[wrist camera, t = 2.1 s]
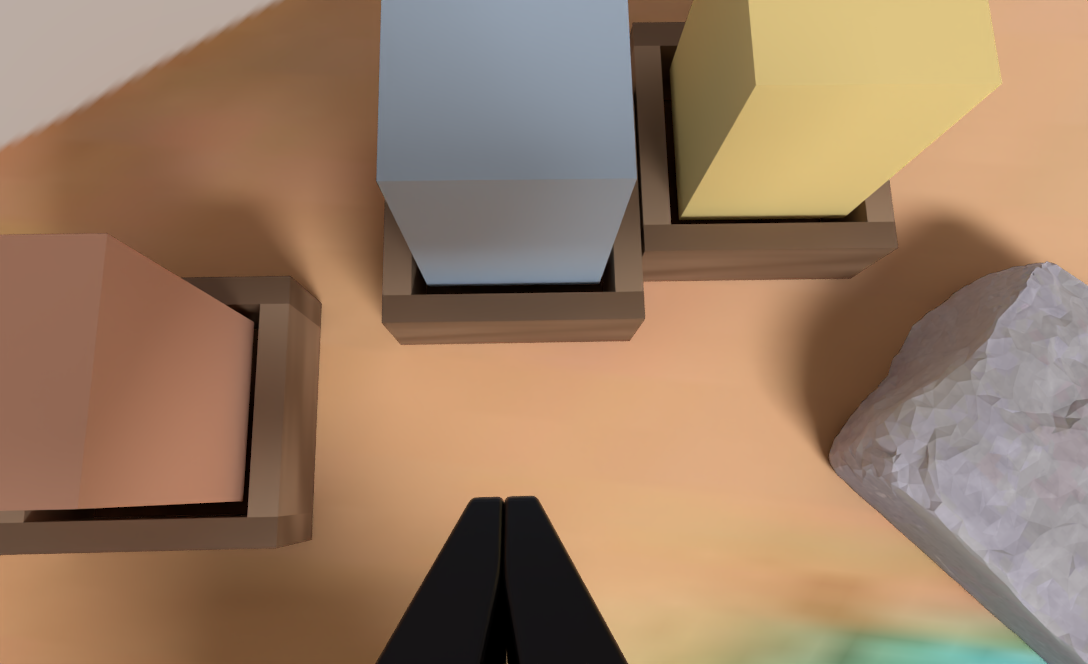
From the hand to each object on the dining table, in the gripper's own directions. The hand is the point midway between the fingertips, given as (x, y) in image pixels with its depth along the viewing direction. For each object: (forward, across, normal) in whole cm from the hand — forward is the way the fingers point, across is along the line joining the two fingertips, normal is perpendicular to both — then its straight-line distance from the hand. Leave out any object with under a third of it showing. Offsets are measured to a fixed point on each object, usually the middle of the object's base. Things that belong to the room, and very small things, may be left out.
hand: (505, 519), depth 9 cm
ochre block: (+15, -8, 0) cm, 17 cm away
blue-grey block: (+14, 0, +2) cm, 14 cm away
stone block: (+10, -17, +10) cm, 22 cm away
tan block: (+10, +10, +6) cm, 15 cm away
